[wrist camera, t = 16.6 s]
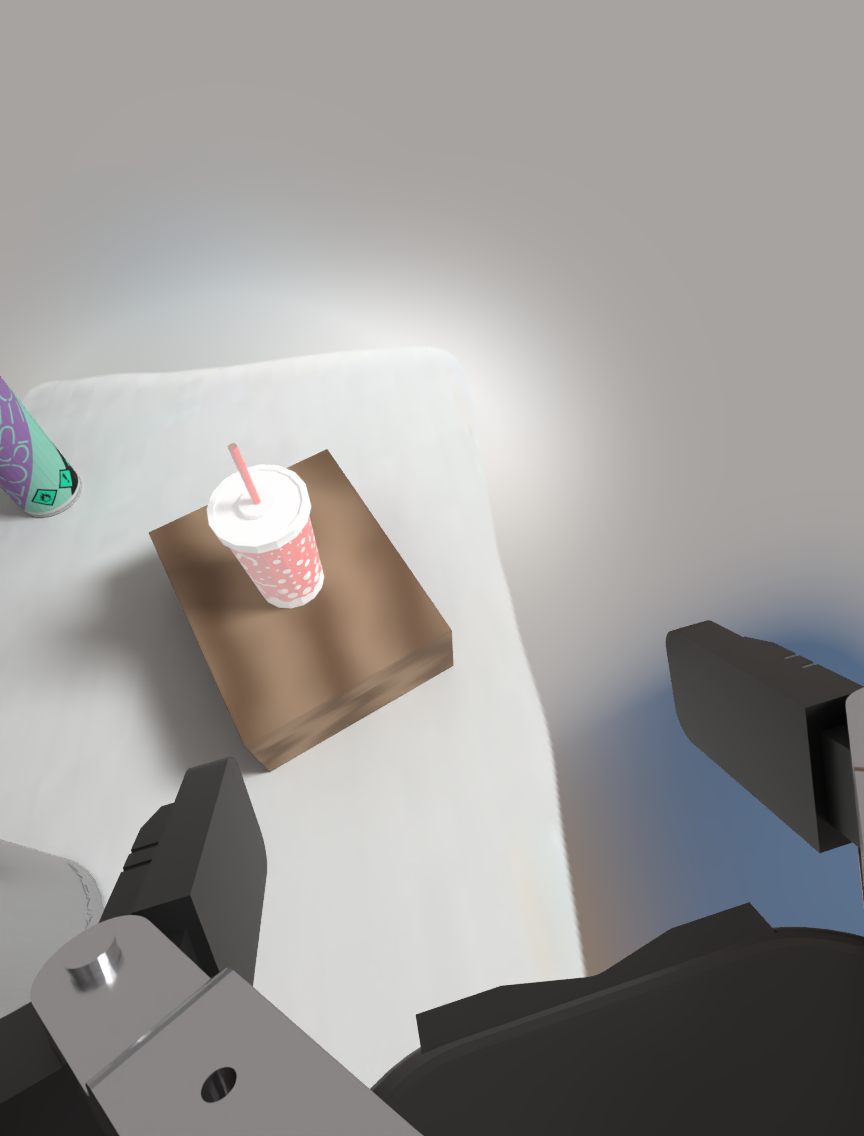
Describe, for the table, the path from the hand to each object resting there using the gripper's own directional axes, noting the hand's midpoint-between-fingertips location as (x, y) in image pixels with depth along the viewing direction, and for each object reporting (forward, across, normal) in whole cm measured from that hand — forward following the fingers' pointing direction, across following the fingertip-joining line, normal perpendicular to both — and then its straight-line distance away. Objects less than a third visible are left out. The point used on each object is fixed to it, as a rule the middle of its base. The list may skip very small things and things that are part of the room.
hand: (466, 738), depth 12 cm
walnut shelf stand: (+41, +6, +8) cm, 42 cm away
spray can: (+55, +26, -5) cm, 61 cm away
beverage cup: (+36, +6, +4) cm, 37 cm away
